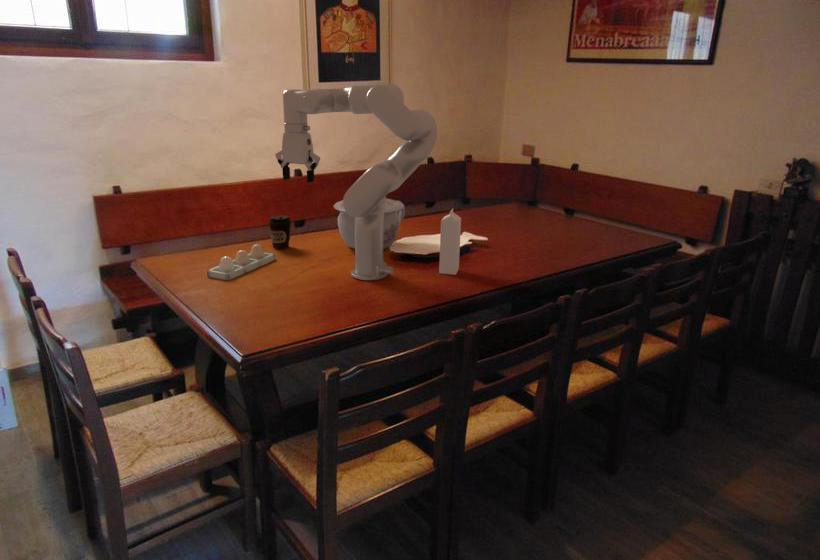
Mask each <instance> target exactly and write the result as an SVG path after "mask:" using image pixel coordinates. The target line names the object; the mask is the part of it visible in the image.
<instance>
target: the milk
mask: <svg viewBox="0 0 820 560" xmlns="http://www.w3.org/2000/svg"><path fill="white" fill-rule="evenodd" d="M461 228H462V217H460V215H458V214H456V213H455V212H454V208H452V209H451V210H450V211H449V214H447V215H445V216H444V217H442V219H441V220H440V238H439V243H440V244H439V264H438V265H439V268H438V273H439V274H443V275H451V276H452V275H454V276H456V275H457V274H458V271H459V269H460V253H461V251H460V249H461V231H462V229H461Z"/></svg>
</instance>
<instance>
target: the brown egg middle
mask: <svg viewBox="0 0 820 560" xmlns="http://www.w3.org/2000/svg"><path fill="white" fill-rule="evenodd" d="M248 254H249V253H248V252H247V251H246V250H244V249H241V250H238V251H237V252H236V254H235V255H236V256H235V263H236V264H237V265H239V266H245V265H247V264H249V261H250V260H249V257H248Z"/></svg>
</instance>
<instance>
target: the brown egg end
mask: <svg viewBox="0 0 820 560" xmlns="http://www.w3.org/2000/svg"><path fill="white" fill-rule="evenodd" d="M264 252H265V251H264V249H263V246H262V245H260V244H258V243H255V244H254V245H252V246H251V250H250V252H249V253H250V256H251V258H252V259H257V260H259V259H262V258H263V257H264Z"/></svg>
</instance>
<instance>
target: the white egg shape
mask: <svg viewBox="0 0 820 560" xmlns="http://www.w3.org/2000/svg"><path fill="white" fill-rule="evenodd" d="M232 260H233V259H232V257H230V256H227V255H225V256H222V257H221V259H220V262H219V263H218V266H219V269H220V271H221V272H224V273H229V272H231V271H233V270H234V264H233V262H232Z"/></svg>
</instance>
